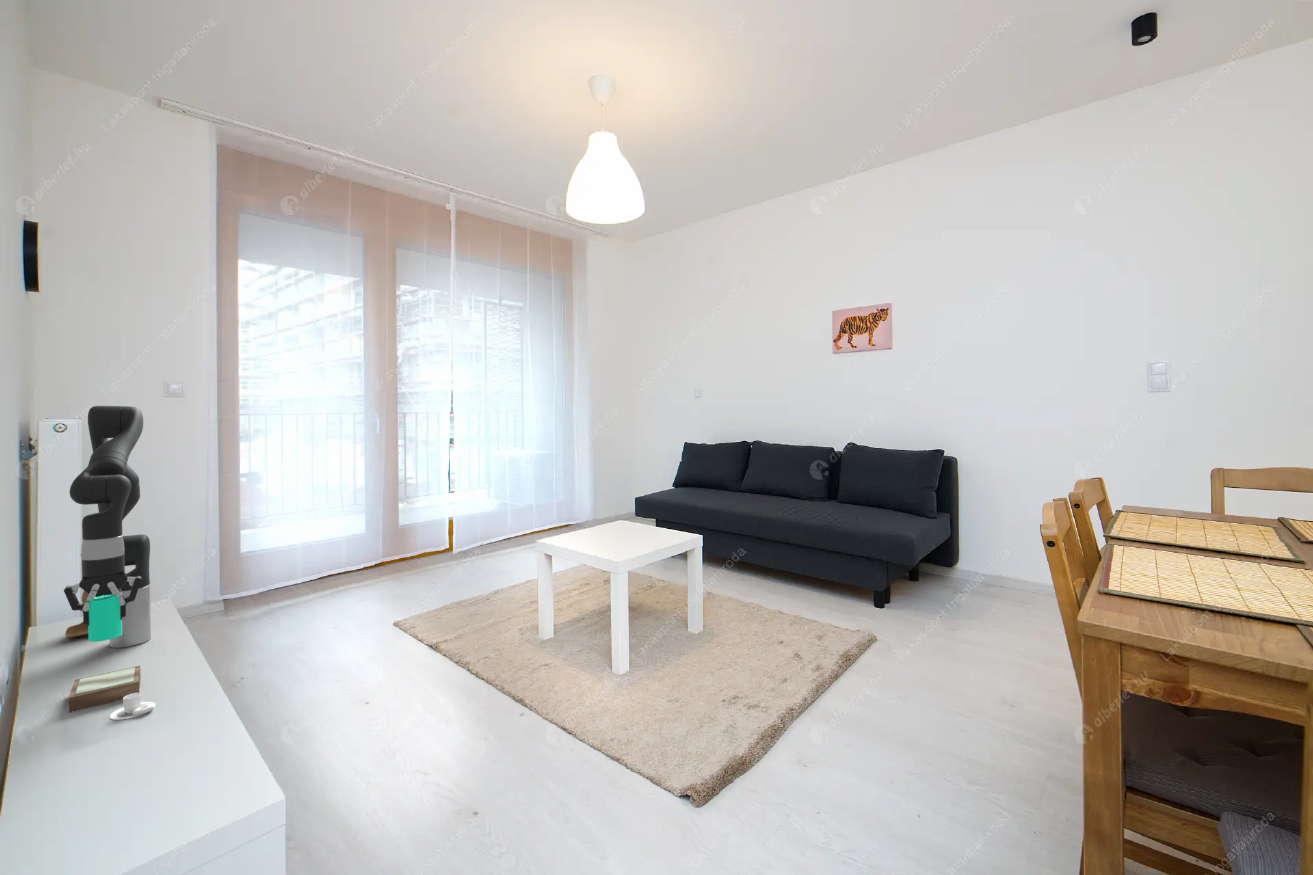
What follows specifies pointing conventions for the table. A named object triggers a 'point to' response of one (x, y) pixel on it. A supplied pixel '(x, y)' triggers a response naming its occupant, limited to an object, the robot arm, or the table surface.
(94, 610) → the candle
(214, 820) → the table surface
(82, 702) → the framed mirror
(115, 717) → the teacup and saucer
